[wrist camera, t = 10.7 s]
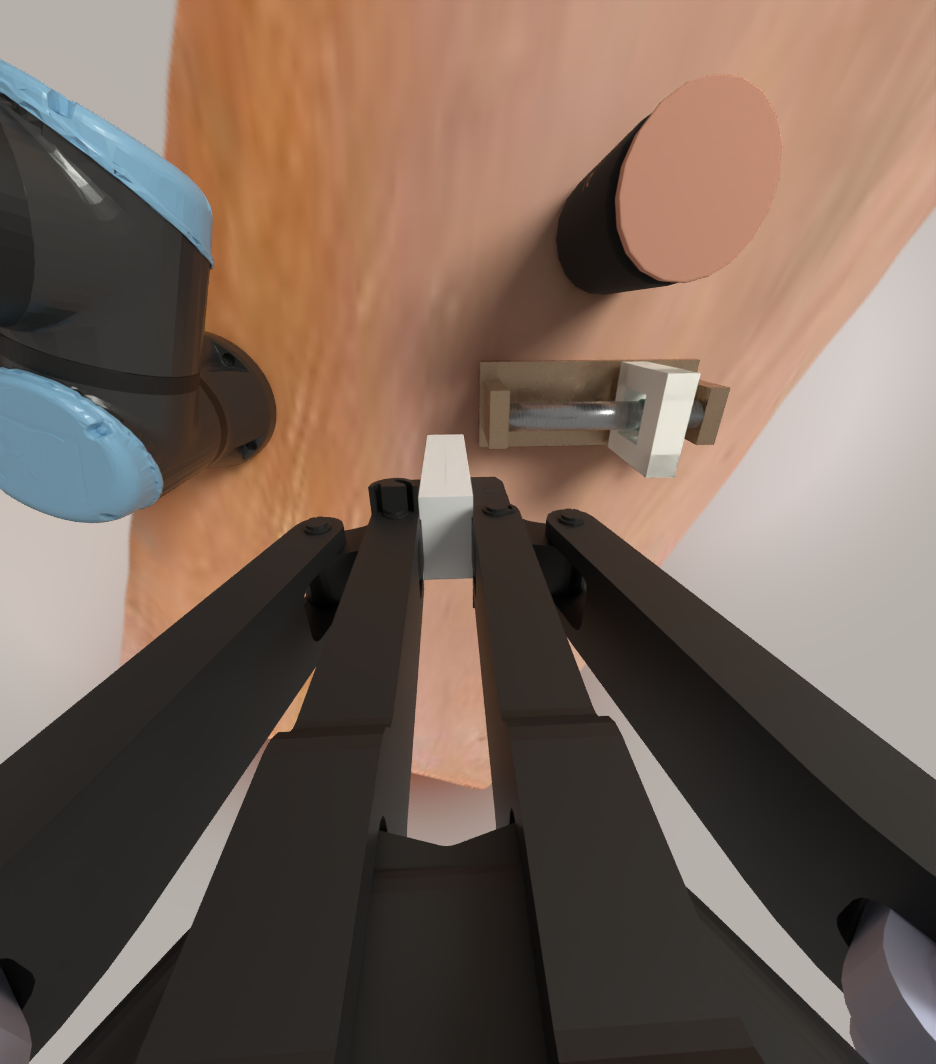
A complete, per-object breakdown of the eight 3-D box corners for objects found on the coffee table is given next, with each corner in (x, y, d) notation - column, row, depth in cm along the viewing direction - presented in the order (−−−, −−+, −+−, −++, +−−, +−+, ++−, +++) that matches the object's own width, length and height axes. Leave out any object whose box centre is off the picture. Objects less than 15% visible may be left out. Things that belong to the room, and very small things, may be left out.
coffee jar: (661, 164, 40) (806, 62, 24) (648, 290, 45) (760, 275, 29) (553, 175, 40) (626, 81, 24) (553, 299, 45) (612, 290, 29)
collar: (607, 447, 51) (645, 477, 41) (621, 361, 46) (668, 373, 36) (630, 446, 51) (674, 477, 41) (647, 361, 46) (700, 373, 37)
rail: (478, 445, 52) (484, 467, 44) (479, 361, 47) (486, 370, 40) (675, 441, 53) (714, 462, 45) (695, 359, 48) (742, 367, 41)
